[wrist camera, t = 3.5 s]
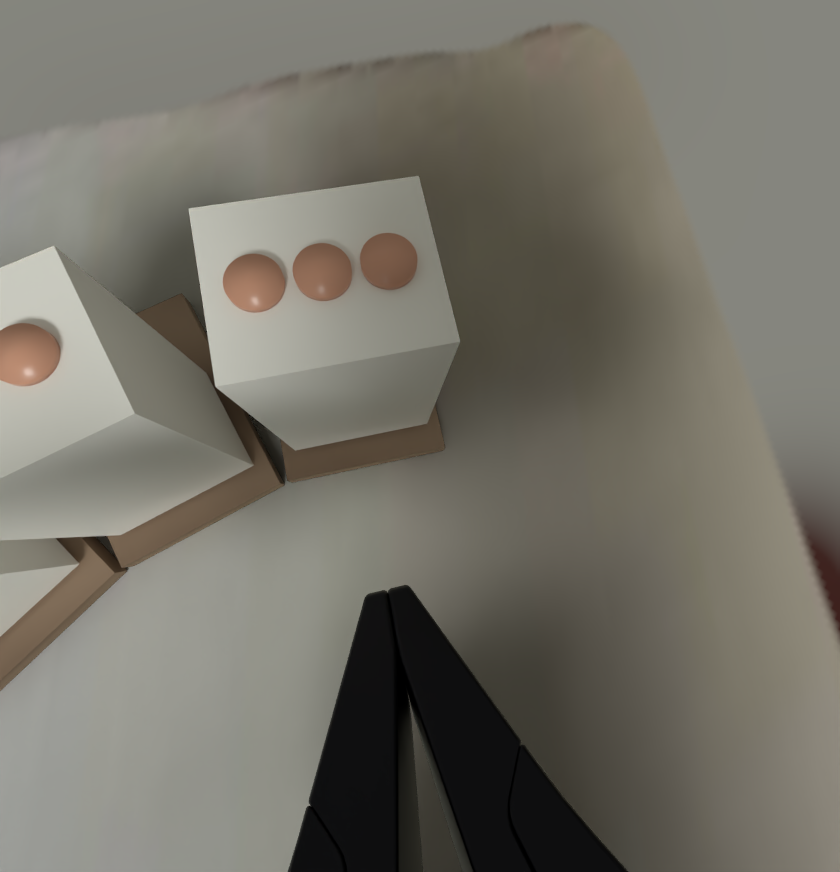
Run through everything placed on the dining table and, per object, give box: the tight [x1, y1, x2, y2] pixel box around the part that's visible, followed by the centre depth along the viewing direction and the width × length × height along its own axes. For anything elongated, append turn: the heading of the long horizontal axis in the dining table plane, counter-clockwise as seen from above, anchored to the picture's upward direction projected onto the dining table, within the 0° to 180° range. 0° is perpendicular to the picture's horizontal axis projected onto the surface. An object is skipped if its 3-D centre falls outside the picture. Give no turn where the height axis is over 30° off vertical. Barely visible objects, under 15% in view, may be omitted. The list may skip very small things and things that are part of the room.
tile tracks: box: [0, 293, 445, 691], centre depth 17 cm, size 22×16×1 cm
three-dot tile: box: [188, 176, 460, 451], centre depth 13 cm, size 4×5×8 cm
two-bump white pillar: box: [0, 246, 254, 540], centre depth 12 cm, size 4×5×8 cm
